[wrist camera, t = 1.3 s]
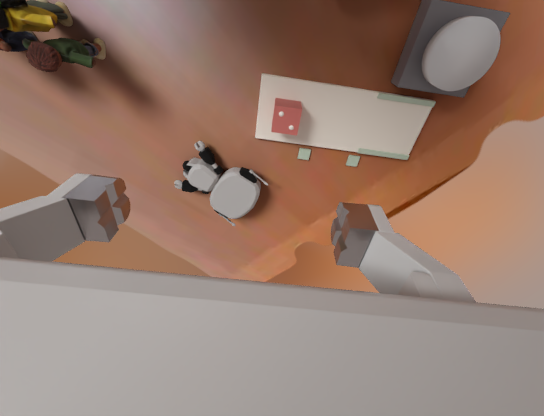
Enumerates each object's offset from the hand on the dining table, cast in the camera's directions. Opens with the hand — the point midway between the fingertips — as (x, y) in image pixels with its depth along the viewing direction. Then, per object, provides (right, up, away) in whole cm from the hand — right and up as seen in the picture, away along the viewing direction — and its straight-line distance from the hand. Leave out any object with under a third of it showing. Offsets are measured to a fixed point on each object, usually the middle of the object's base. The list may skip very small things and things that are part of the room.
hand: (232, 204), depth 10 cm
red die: (+4, +15, +32) cm, 36 cm away
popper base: (+25, +22, +27) cm, 43 cm away
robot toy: (-8, +6, +42) cm, 43 cm away
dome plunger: (+25, +21, +26) cm, 41 cm away
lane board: (+12, +13, +35) cm, 39 cm away
